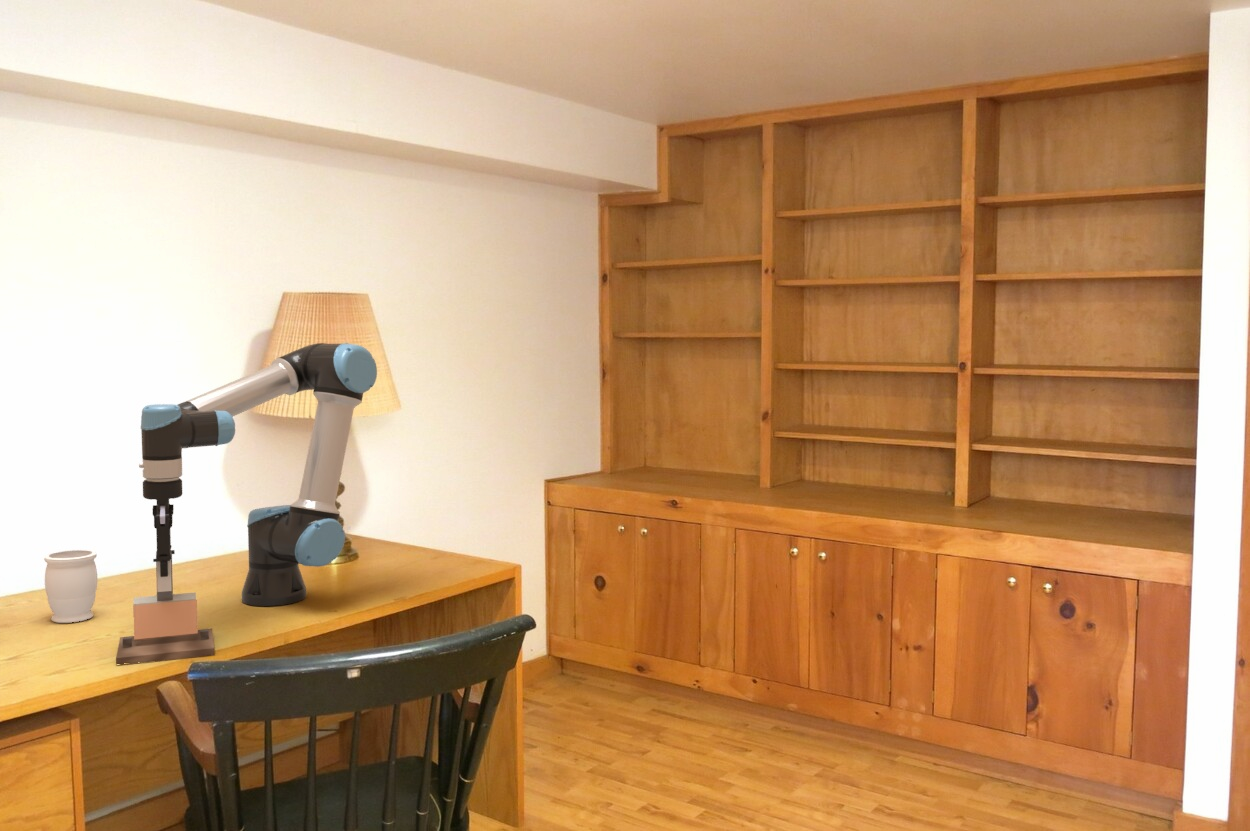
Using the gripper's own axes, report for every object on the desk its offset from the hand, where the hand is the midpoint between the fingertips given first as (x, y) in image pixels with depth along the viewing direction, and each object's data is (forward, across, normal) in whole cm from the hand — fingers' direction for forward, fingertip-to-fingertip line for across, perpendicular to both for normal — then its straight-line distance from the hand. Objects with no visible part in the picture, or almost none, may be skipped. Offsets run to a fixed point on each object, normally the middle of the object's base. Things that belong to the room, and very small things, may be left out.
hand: (164, 588), depth 214 cm
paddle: (+5, -1, 0) cm, 5 cm away
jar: (+13, -27, -20) cm, 36 cm away
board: (+12, +5, 0) cm, 13 cm away
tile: (+6, +3, 0) cm, 7 cm away
